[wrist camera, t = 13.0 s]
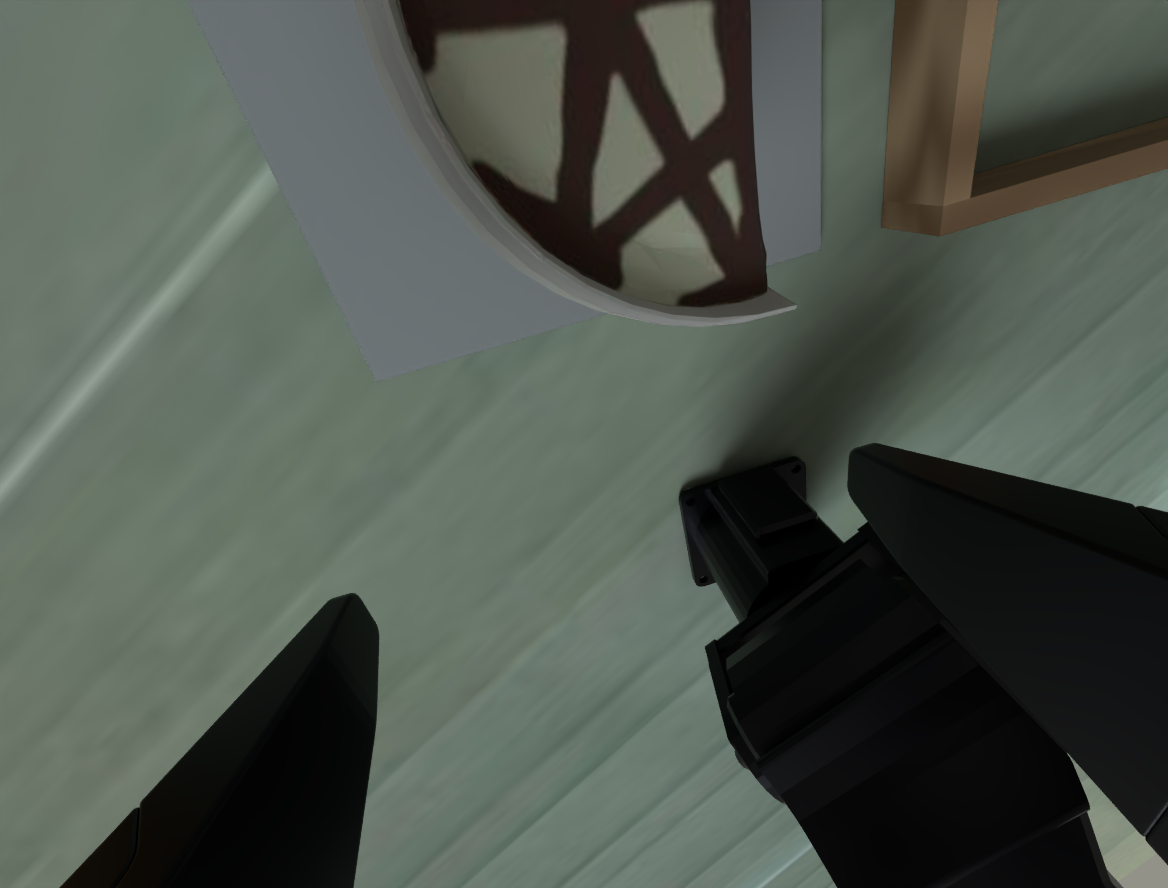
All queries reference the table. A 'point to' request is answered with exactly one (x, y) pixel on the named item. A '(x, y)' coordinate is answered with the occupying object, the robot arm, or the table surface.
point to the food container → (591, 143)
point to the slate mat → (414, 202)
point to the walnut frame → (978, 131)
